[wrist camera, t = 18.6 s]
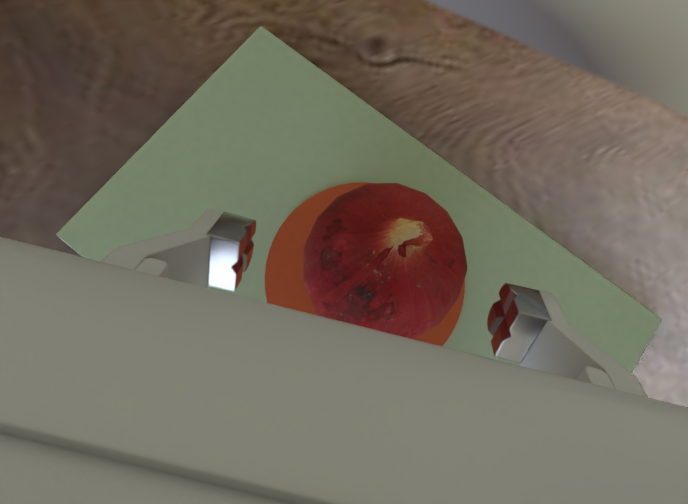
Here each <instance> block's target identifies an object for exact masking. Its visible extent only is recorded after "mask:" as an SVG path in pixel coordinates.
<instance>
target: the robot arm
mask: <svg viewBox="0 0 688 504" xmlns="http://www.w3.org/2000/svg"><path fill="white" fill-rule="evenodd" d="M255 232H256V220H255V219H251V218H247V217H244V216H240V215H236V214H233V213H229V212H225V211H222V210H218V209H213V208H208V209H207V210H206V211H205V212H204V213H203V215H202V216H201V217H200V218H199V219H198V220H197V221H196V223H195V224H194V225H193V226H192V227H191V228H190V229H189V230H185V229H184V230H180V231H176V232H172V233H169V234H165V235H161V236H157V237H154V238H150V239H146V240H142V241H139V242H135V243H131V244H127V245H124V246H120V247H116V248H115V249H114V250H112V251H111V252H110V253H109V254H108V255H107V256H106V257H105V258H104V259H103V260H101V261H96V260H92V259H88V258H84V257H80V256H76V255H72V254H68V253H64V252H60V251H56V250H52V249H48V248H44V247H40V246H36V245H32V244H28V243H24V242H20V241H16V240H12V239H8V238H4V237H0V504H688V407H684V406H680V405H676V404H672V403H668V402H664V401H660V400H656V399H652V398H648V396H647V395H646V393H645V391H644V389H643V388H642V386H641V384H640V382H639V381H638V379H637V377H635V376H634V375H633V374H632V373H630V372H629V371H628V370H627V369H625V368H624V367H623V366H622V365H621V364H619V363H618V362H617V361H616V360H614V359H613V358H612V357H611V356H609V355H608V354H607V353H606V352H604V351H603V350H602V349H601V348H599V347H598V346H597V345H596V344H595V343H593V342H592V341H591V340H590V339H588V338H587V337H586V336H585V335H583V334H582V333H581V332H580V331H578V330H577V329H576V328H575V327H573V326H569V324H568V322H567V320H566V318H565V316H564V314H563V312H562V310H561V308H560V306H559V303H558V301H557V299H556V297H555V295H554V294H552V293H550V292H545V291H540V290H536V289H531V288H527V287H522V286H518V285H513V284H509V283H505V284H504V285H503V286H502V287H501V289H500V291H499V296H500V300H498V301H497V302H495V303H493V305H492V307H491V309H490V311H489V314H488V319H487V327H488V331H489V333H490V334H491V335H492V336H493V338H492V340H491V345H492V349H493V353H494V356H495V357H499V358H503V359H506V360H510V361H513V362H517V363H521V364H520V365H521V366H519V365H515V364H511V363H507V362H503V361H499V360H495V359H491V358H487V357H483V356H479V355H475V354H471V353H467V352H463V351H459V350H455V349H451V348H447V347H442V346H438V345H434V344H430V343H426V342H422V341H418V340H414V339H410V338H406V337H402V336H398V335H394V334H390V333H386V332H382V331H378V330H374V329H370V328H366V327H362V326H358V325H354V324H350V323H346V322H342V321H338V320H334V319H330V318H326V317H322V316H318V315H314V314H310V313H306V312H302V311H298V310H294V309H289V308H285V307H281V306H277V305H273V304H269V303H265V302H261V301H257V300H253V299H249V298H245V297H241V296H237V295H233V294H229V293H225V292H221V291H217V290H213V289H209V288H207V286H211V287H216V288H220V289H225V290H229V291H234V292H235V290H236V288H237V286H238V285H239V283H240V281H241V279H242V272H245V271H246V270H247V268H248V266H249V264H250V261H251V258H252V254H253V248H254V243H253V241H252V237H253V236H254V234H255Z"/></svg>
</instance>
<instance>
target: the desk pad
mask: <svg viewBox="0 0 688 504" xmlns="http://www.w3.org/2000/svg"><path fill="white" fill-rule="evenodd" d="M370 183H399V184H401V185H404V186H407V187H410V188H413V189H415V190H418V191H421V192H424V193H426V194H427V195H428V196H430V197H431V198H432V199H433V200H434V201H435V202H437V203H438V204H439V205H440V206H441V207H443V208H444V209H445V210H446V211H447V212H448V213H449V215H450V217H451V219H452V220H453V222H454V224H455V225H456V227H457V229H458V230H459V232H460V234H461V235H462V238H463V243H464V249H465V254H466V260H467V269H468V270H467V273H466V276H465V279H464V282H463V285H462V288H461V291H460V294H459V297H458V300H457V301H456V303H455V304H454V305H453V307H452V308H451V310H450V311H449V312H448V314H447V315H446V316H445V318H444V319H443V320H442V322H441V323H440V324H439V325H438V326H436V327H434V328H433V329H431V330H429V331H427V332H426V333H424V334H422V335H421V336H419V337H417V338H415V339H414V340H418V341H422V342H426V343H430V344H434V345H438V346H442V347H447V348H451V349H455V350H459V351H463V352H467V353H471V354H475V355H479V356H483V357H487V358H491V359H495V360H499V361H503V362H507V363H511V364H515V365H519V366H521V365H520V364H521V363H517V362H513V361H510V360H506V359H503V358H499V357H495V356H494V353H493V349H492V345H491V340H492V338H493V336H492V335H491V334H490V333H489V331H488V327H487V319H488V314H489V311H490V309H491V307H492V305H493V303H495V302H497V301H498V300H500V296H499V291H500V289H501V287H502V286H503V285H504V284H505V283H509V284H513V285H518V286H522V287H527V288H531V289H536V290H540V291H545V292H550V293H552V294H554V295H555V297H556V299H557V301H558V303H559V306H560V308H561V310H562V312H563V314H564V316H565V318H566V320H567V322H568V324H569V326H573V327H575V328H576V329H577V330H578V331H580V332H581V333H582V334H583V335H585V336H586V337H587V338H588V339H590V340H591V341H592V342H593V343H595V344H596V345H597V346H598V347H599V348H601V349H602V350H603V351H604V352H606V353H607V354H608V355H609V356H611V357H612V358H613V359H614V360H616V361H617V362H618V363H619V364H621V365H622V366H623V367H624V368H625V369H627V370H628V371H629V372H630V373H632V371H633V369H634V367H635V366H636V364H637V362H638V361H639V359H640V357H641V355H642V354H643V352H644V350H645V349H646V347H647V345H648V343H649V342H650V340H651V338H652V337H653V335H654V333H655V331H656V330H657V328H658V326H659V325H660V323H661V321H662V319H661V318H659V317H658V316H657V315H655V314H654V313H653V312H651V311H650V310H649V309H647V308H646V307H644V306H643V305H642V304H640V303H639V302H638V301H636V300H635V299H634V298H632V297H631V296H629V295H628V294H627V293H625V292H624V291H623V290H621V289H620V288H618V287H617V286H616V285H614V284H613V283H612V282H610V281H609V280H608V279H606V278H605V277H603V276H602V275H601V274H599V273H598V272H597V271H595V270H594V269H593V268H591V267H590V266H588V265H587V264H586V263H584V262H583V261H582V260H580V259H579V258H578V257H576V256H575V255H573V254H572V253H571V252H569V251H568V250H567V249H565V248H564V247H562V246H561V245H560V244H558V243H557V242H556V241H554V240H553V239H552V238H550V237H549V236H547V235H546V234H545V233H543V232H542V231H541V230H539V229H538V228H537V227H535V226H534V225H532V224H531V223H530V222H528V221H527V220H526V219H524V218H523V217H522V216H520V215H519V214H517V213H516V212H515V211H513V210H512V209H511V208H509V207H508V206H506V205H505V204H504V203H502V202H501V201H500V200H498V199H497V198H496V197H494V196H493V195H491V194H490V193H489V192H487V191H486V190H485V189H483V188H482V187H481V186H479V185H478V184H476V183H475V182H474V181H472V180H471V179H470V178H468V177H467V176H466V175H464V174H463V173H461V172H460V171H459V170H457V169H456V168H455V167H453V166H452V165H450V164H449V163H448V162H446V161H445V160H444V159H442V158H441V157H440V156H438V155H437V154H435V153H434V152H433V151H431V150H430V149H429V148H427V147H426V146H425V145H423V144H422V143H420V142H419V141H418V140H416V139H415V138H414V137H412V136H411V135H410V134H408V133H407V132H405V131H404V130H403V129H401V128H400V127H399V126H397V125H396V124H394V123H393V122H392V121H390V120H389V119H388V118H386V117H385V116H384V115H382V114H381V113H379V112H378V111H377V110H375V109H374V108H373V107H371V106H370V105H369V104H367V103H366V102H364V101H363V100H362V99H360V98H359V97H358V96H356V95H355V94H354V93H352V92H351V91H349V90H348V89H347V88H345V87H344V86H343V85H341V84H340V83H339V82H337V81H336V80H334V79H333V78H332V77H330V76H329V75H328V74H326V73H325V72H323V71H322V70H321V69H319V68H318V67H317V66H315V65H314V64H313V63H311V62H310V61H308V60H307V59H306V58H304V57H303V56H302V55H300V54H299V53H298V52H296V51H295V50H293V49H292V48H291V47H289V46H288V45H287V44H285V43H284V42H283V41H281V40H280V39H278V38H277V37H276V36H274V35H273V34H272V33H270V32H269V31H267V30H266V29H265V28H263V27H262V26H260V27H259V28H258V29H257V30H256V31H255V32H254V33H253V34H252V35H251V36H250V37H249V38H248V39H247V40H246V41H245V42H244V43H243V44H242V45H241V46H240V47H239V48H238V49H237V50H236V51H235V52H234V53H233V54H232V55H231V56H230V57H229V58H228V59H227V60H226V61H225V62H224V64H223V65H222V66H221V67H220V68H219V69H218V70H217V71H216V72H215V73H214V74H213V75H212V76H211V77H210V78H209V79H208V80H207V81H206V82H205V83H204V84H203V85H202V86H201V87H200V88H199V89H198V90H197V91H196V92H195V93H194V94H193V95H192V96H191V97H190V98H189V99H188V100H187V101H186V102H185V103H184V104H183V105H182V106H181V107H180V108H179V109H178V110H177V111H176V112H175V113H174V114H173V115H172V116H171V117H170V118H169V120H168V121H167V122H166V123H165V124H164V125H163V126H162V127H161V128H160V129H159V130H158V131H157V132H156V133H155V134H154V135H153V136H152V137H151V138H150V139H149V140H148V141H147V142H146V143H145V144H144V145H143V146H142V147H141V148H140V149H139V150H138V151H137V152H136V153H135V154H134V155H133V156H132V157H131V158H130V159H129V160H128V161H127V162H126V163H125V164H124V165H123V166H122V167H121V168H120V169H119V170H118V171H117V172H116V173H115V174H114V176H113V177H112V178H111V179H110V180H109V181H108V182H107V183H106V184H105V185H104V186H103V187H102V188H101V189H100V190H99V191H98V192H97V193H96V194H95V195H94V196H93V197H92V198H91V199H90V200H89V201H88V202H87V203H86V204H85V205H84V206H83V207H82V208H81V209H80V210H79V211H78V212H77V213H76V214H75V215H74V216H73V217H72V218H71V219H70V220H69V221H68V222H67V223H66V224H65V225H64V226H63V227H62V228H61V229H60V230H59V232H58V233H57V234H56V235H57V236H58V237H59V238H60V239H61V240H63V241H64V242H65V243H66V244H68V245H69V246H70V247H71V248H72V249H74V250H75V251H76V252H77V253H78V254H80V255H81V256H82V257H84V258H88V259H92V260H96V261H101V260H103V259H104V258H105V257H106V256H107V255H108V254H109V253H110V252H111V251H112V250H114V249H115V248H116V247H120V246H124V245H127V244H131V243H135V242H139V241H142V240H146V239H150V238H154V237H157V236H161V235H165V234H169V233H172V232H176V231H180V230H184V229H185V230H189V229H190V228H191V227H192V226H193V225H194V224H195V223H196V221H197V220H198V219H199V218H200V217H201V216H202V215H203V213H204V212H205V211H206V210H207V209H208V208H213V209H218V210H222V211H225V212H229V213H233V214H236V215H240V216H244V217H247V218H251V219H255V220H256V232H255V234H254V236H253V237H252V241H253V243H254V248H253V254H252V258H251V261H250V264H249V266H248V268H247V270H246V271H245V272H242V279H241V281H240V283H239V285H238V286H237V288H236V290H235V292H234V291H229V290H225V289H220V288H216V287H211V286H207V288H209V289H213V290H217V291H221V292H225V293H229V294H233V295H237V296H241V297H245V298H249V299H253V300H257V301H261V302H265V303H269V304H273V305H277V306H281V307H285V308H289V309H294V310H298V311H302V312H306V313H310V314H314V315H318V316H320V315H319V314H318V313H317V312H316V311H315V309H314V306H313V304H312V301H311V299H310V296H309V294H308V291H307V289H306V286H305V283H304V281H303V248H304V246H305V243H306V241H307V239H308V237H309V235H310V232H311V230H312V228H313V226H314V224H315V221H316V219H317V217H318V216H319V215H320V214H321V213H322V212H323V211H324V210H325V209H326V208H327V207H328V206H329V205H330V204H331V203H332V202H333V201H334V200H335V199H336V198H337V197H338V196H340V195H342V194H344V193H347V192H349V191H351V190H354V189H356V188H358V187H360V186H363V185H365V184H370Z"/></svg>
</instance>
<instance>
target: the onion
mask: <svg viewBox="0 0 688 504" xmlns="http://www.w3.org/2000/svg"><path fill="white" fill-rule="evenodd" d="M467 270H468V269H467V260H466V254H465V249H464V243H463V238H462V235H461V234H460V232H459V230H458V229H457V227H456V225H455V224H454V222H453V220H452V219H451V217H450V215H449V213H448V212H447V211H446V210H445V209H444V208H443V207H441V206H440V205H439V204H438V203H437V202H435V201H434V200H433V199H432V198H431V197H430V196H428V195H427V194H426V193H424V192H421V191H418V190H415V189H413V188H410V187H407V186H404V185H401V184H399V183H370V184H365V185H363V186H360V187H358V188H356V189H354V190H351V191H349V192H347V193H344V194H342V195H340V196H338V197H337V198H336V199H335V200H334V201H333V202H332V203H331V204H330V205H329V206H328V207H327V208H326V209H325V210H324V211H323V212H322V213H321V214H320V215H319V216H318V217H317V219H316V221H315V224H314V226H313V228H312V230H311V232H310V235H309V237H308V239H307V241H306V243H305V246H304V248H303V281H304V283H305V286H306V289H307V291H308V294H309V296H310V299H311V301H312V304H313V306H314V309H315V311H316V312H317V313H318V314H319V315H320V316H322V317H326V318H330V319H334V320H338V321H342V322H346V323H350V324H354V325H358V326H362V327H366V328H370V329H374V330H378V331H382V332H386V333H390V334H394V335H398V336H402V337H406V338H410V339H415V338H417V337H419V336H421V335H422V334H424V333H426V332H427V331H429V330H431V329H433V328H434V327H436V326H438V325H439V324H440V323H441V322H442V320H443V319H444V318H445V316H446V315H447V314H448V312H449V311H450V310H451V308H452V307H453V305H454V304H455V303H456V301H457V300H458V297H459V294H460V291H461V288H462V285H463V282H464V279H465V276H466V273H467Z"/></svg>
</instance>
